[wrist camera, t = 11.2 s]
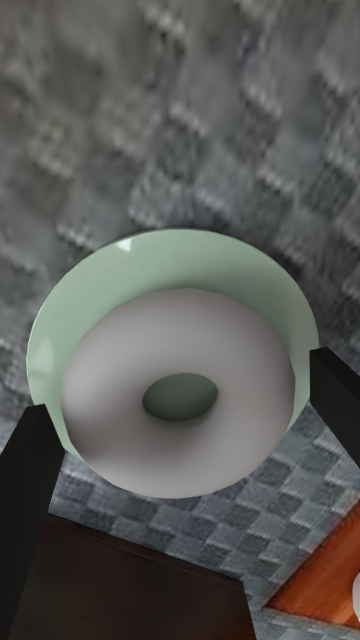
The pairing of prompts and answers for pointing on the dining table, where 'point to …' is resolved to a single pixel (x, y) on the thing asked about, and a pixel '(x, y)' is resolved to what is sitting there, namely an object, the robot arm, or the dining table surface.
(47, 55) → the dining table surface
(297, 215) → the dining table surface
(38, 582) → the wooden box
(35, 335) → the saucer
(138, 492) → the donut
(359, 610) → the alcohol
